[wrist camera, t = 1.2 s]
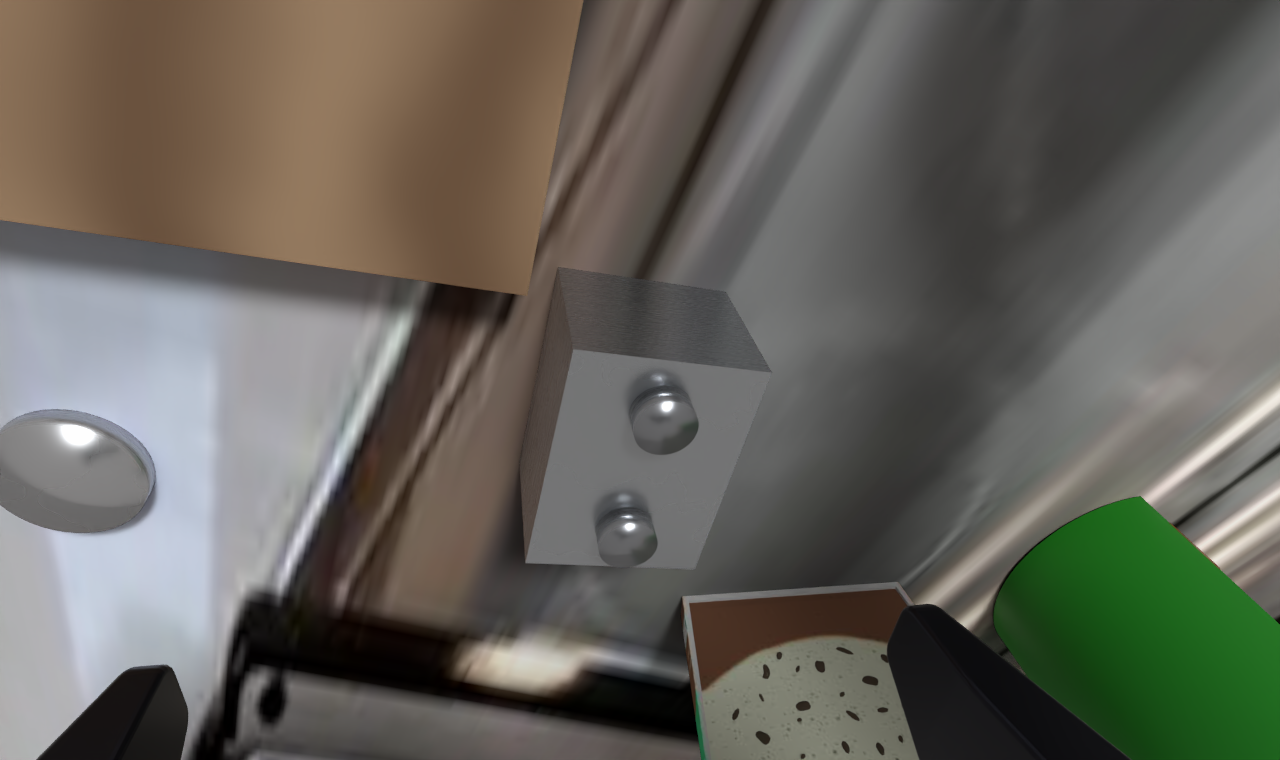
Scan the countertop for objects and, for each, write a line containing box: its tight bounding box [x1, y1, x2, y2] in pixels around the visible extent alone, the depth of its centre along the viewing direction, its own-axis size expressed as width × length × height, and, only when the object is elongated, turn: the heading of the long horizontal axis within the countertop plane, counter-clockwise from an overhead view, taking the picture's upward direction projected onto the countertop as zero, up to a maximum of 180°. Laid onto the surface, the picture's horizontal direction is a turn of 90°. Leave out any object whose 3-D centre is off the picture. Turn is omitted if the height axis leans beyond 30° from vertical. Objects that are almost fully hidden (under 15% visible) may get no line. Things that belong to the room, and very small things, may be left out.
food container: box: [681, 582, 919, 760], centre depth 28 cm, size 12×6×10 cm, turn 84°
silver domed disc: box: [0, 409, 156, 533], centre depth 21 cm, size 4×4×1 cm
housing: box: [519, 267, 772, 569], centre depth 21 cm, size 5×7×5 cm
